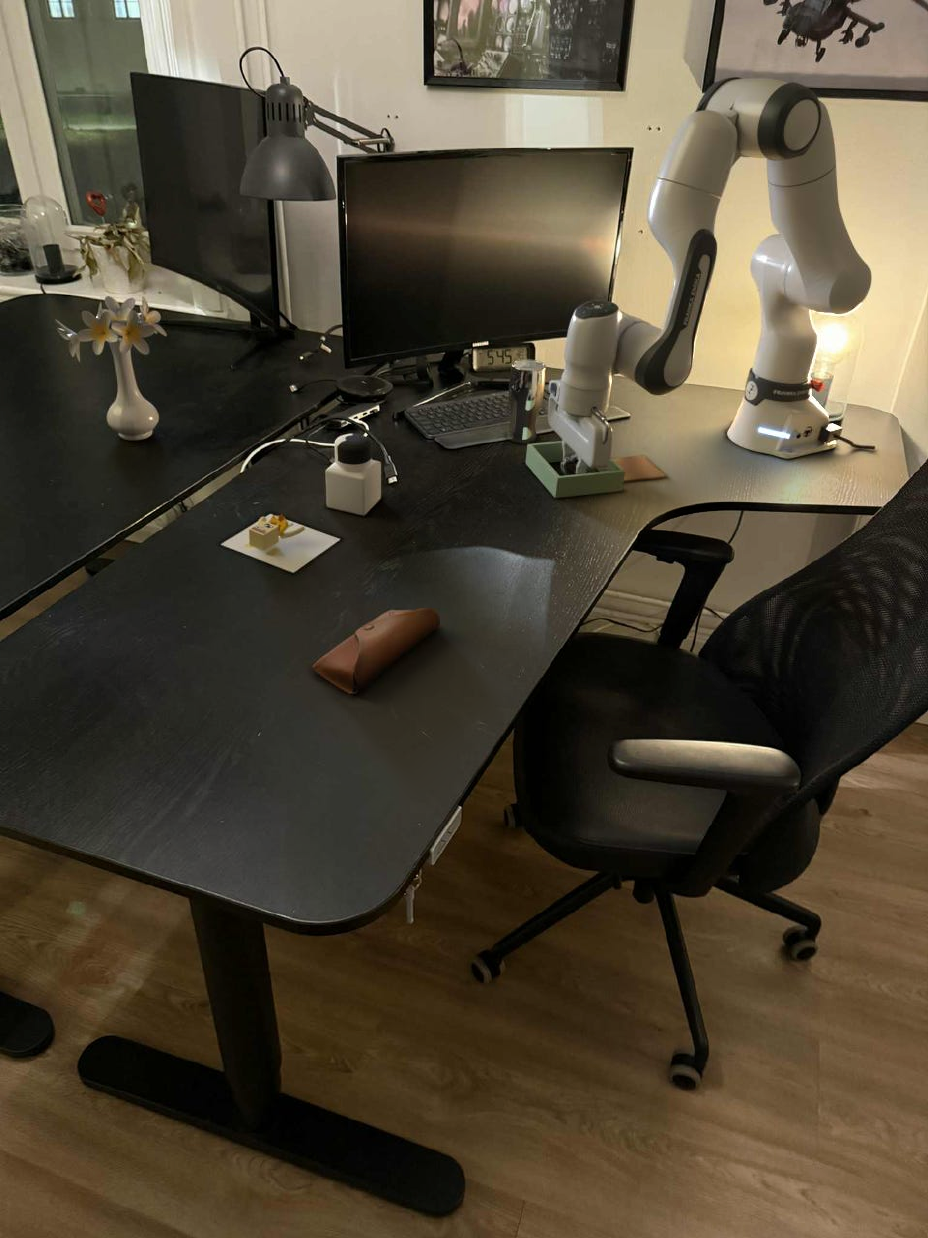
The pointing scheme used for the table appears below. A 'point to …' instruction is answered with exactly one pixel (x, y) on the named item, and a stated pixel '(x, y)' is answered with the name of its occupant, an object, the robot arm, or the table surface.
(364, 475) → the medicine bottle
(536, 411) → the shiny metal tumbler
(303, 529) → the miniature model
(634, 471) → the cork pad
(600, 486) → the tray
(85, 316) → the flower vase
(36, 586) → the table surface
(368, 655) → the sunglasses case
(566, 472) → the wristwatch
